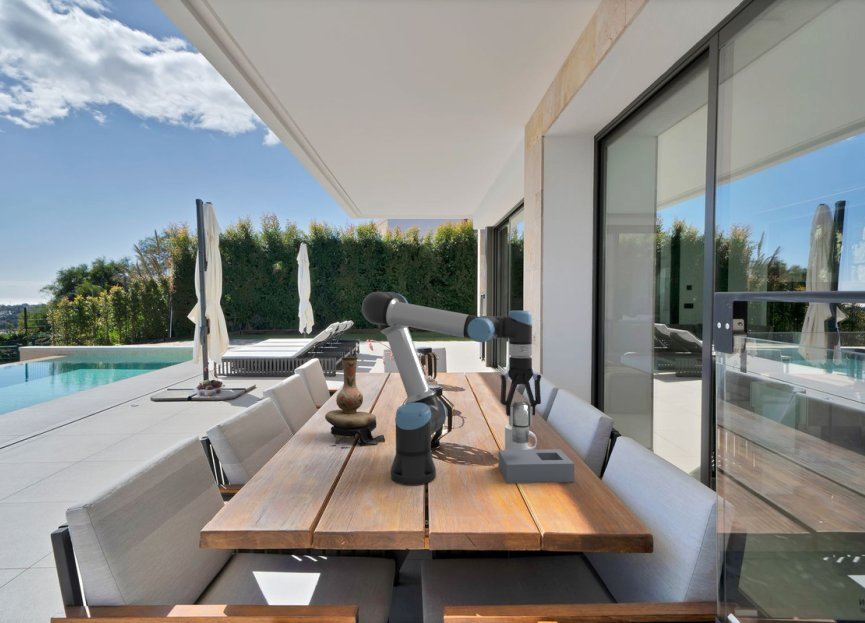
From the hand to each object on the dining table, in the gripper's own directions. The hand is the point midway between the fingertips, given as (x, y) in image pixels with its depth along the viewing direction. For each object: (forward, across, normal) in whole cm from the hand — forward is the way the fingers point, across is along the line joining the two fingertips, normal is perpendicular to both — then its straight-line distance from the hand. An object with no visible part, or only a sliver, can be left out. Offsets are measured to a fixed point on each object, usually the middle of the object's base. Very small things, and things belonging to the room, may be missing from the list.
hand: (520, 424), depth 149 cm
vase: (+17, -61, +42) cm, 76 cm away
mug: (+17, +5, +19) cm, 26 cm away
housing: (+17, +5, 0) cm, 18 cm away
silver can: (+5, 0, 0) cm, 5 cm away
